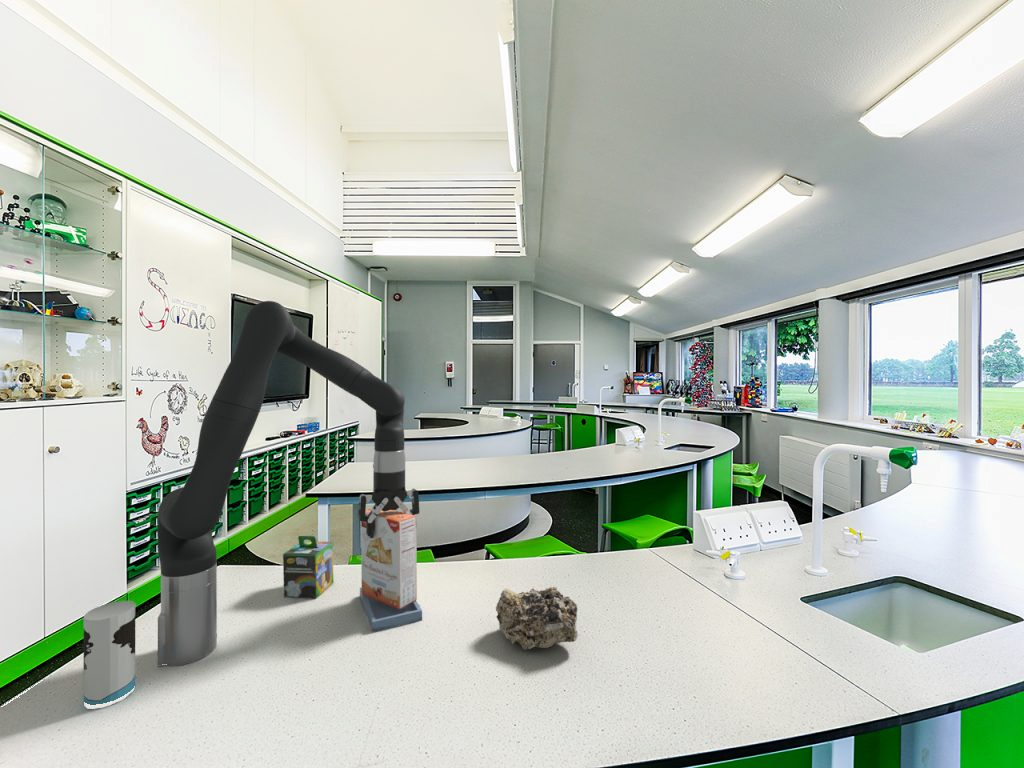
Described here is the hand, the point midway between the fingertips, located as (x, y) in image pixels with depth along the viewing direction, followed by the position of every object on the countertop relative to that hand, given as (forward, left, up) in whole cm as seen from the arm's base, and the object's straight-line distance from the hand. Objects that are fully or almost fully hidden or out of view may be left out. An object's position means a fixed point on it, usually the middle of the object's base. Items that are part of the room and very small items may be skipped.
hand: (389, 534), depth 109 cm
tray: (0, 0, -18) cm, 18 cm away
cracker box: (0, 0, -16) cm, 16 cm away
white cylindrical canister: (-50, -9, -18) cm, 54 cm away
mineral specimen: (+26, -27, -18) cm, 42 cm away
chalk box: (-17, +19, -18) cm, 31 cm away
